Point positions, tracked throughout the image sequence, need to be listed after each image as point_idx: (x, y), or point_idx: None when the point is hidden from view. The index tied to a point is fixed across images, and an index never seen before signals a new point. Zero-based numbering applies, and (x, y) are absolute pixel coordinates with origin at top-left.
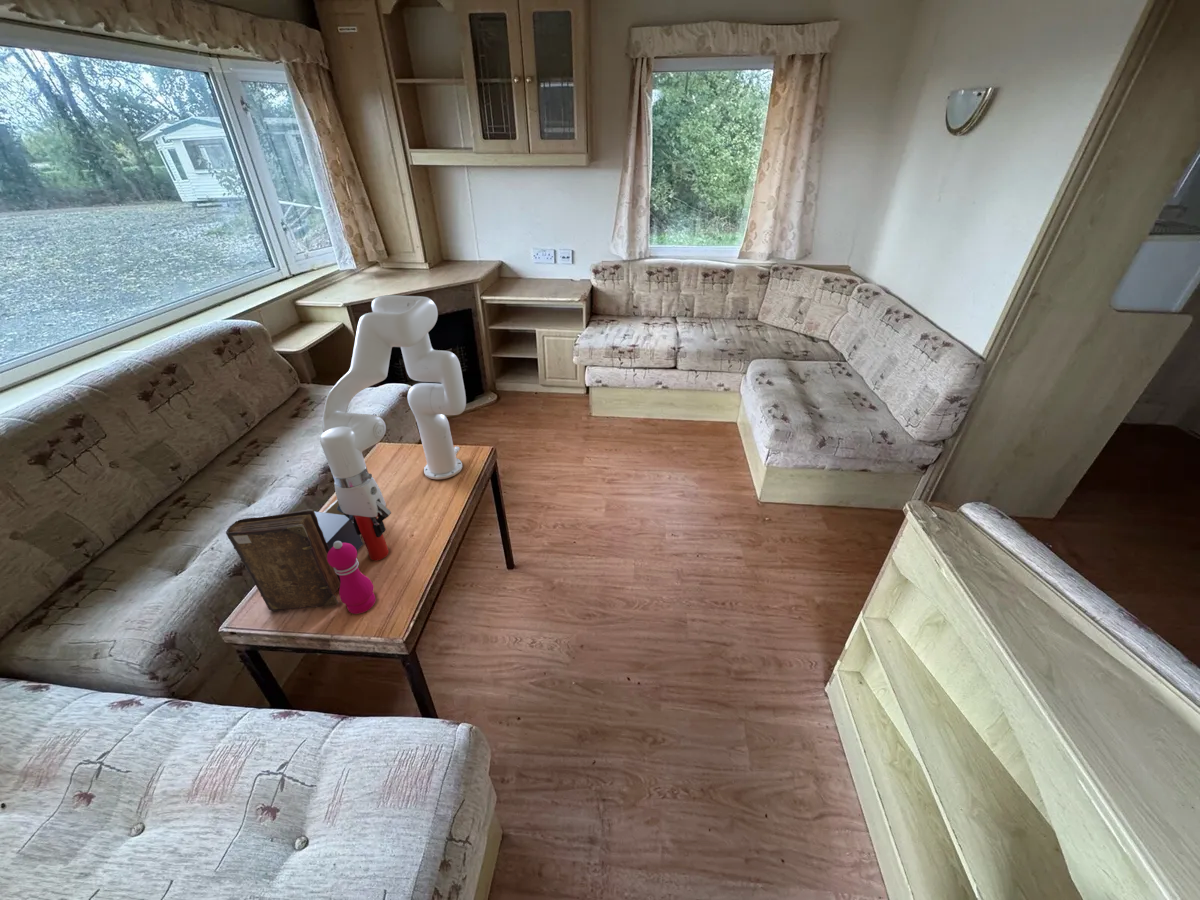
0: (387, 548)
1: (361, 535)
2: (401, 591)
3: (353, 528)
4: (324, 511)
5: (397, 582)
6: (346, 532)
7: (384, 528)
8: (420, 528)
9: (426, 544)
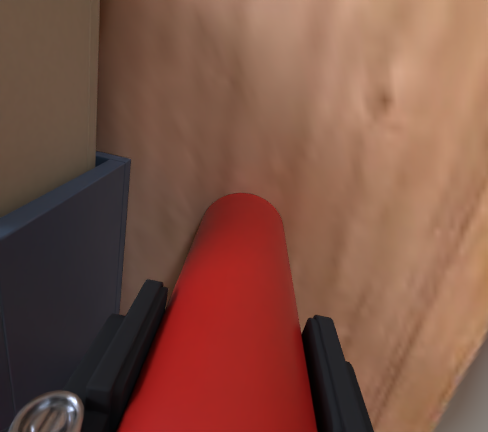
0: (283, 230)
1: (95, 122)
2: (378, 394)
3: (54, 239)
4: None
5: (358, 364)
6: (42, 312)
7: (351, 376)
8: (429, 30)
9: (467, 180)
